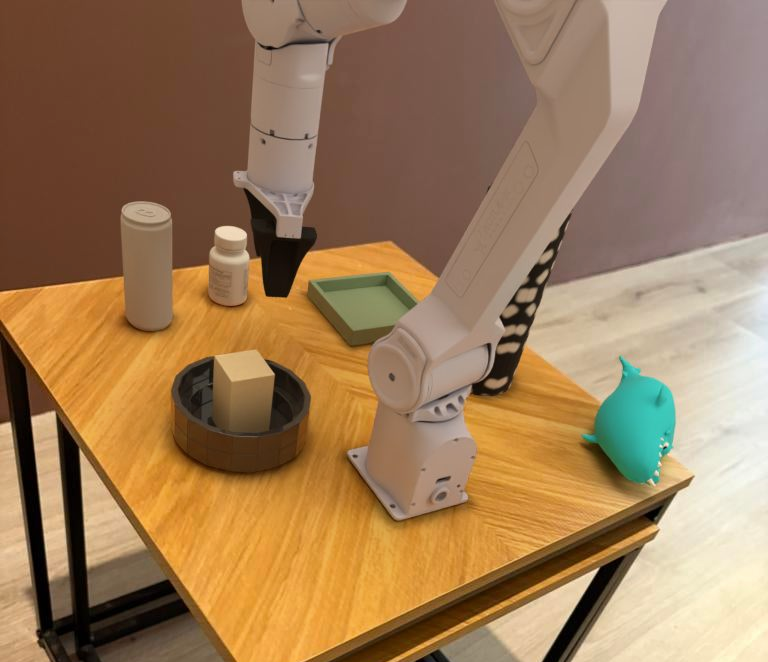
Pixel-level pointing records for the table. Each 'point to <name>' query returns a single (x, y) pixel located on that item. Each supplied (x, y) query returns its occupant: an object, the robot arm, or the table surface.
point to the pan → (238, 447)
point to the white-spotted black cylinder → (520, 319)
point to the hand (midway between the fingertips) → (271, 274)
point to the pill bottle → (229, 267)
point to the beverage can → (147, 265)
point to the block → (242, 392)
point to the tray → (361, 304)
